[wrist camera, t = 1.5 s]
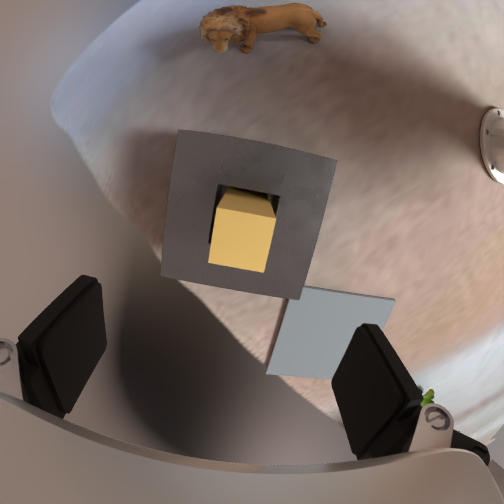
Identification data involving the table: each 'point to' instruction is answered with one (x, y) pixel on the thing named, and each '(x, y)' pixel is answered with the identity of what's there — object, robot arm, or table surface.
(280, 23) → the brown animal figure
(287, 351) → the mat
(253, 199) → the peg
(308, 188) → the hole block
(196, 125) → the table surface
